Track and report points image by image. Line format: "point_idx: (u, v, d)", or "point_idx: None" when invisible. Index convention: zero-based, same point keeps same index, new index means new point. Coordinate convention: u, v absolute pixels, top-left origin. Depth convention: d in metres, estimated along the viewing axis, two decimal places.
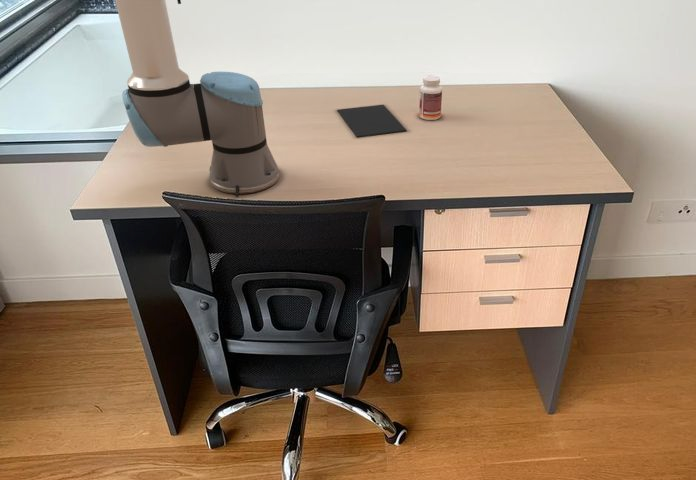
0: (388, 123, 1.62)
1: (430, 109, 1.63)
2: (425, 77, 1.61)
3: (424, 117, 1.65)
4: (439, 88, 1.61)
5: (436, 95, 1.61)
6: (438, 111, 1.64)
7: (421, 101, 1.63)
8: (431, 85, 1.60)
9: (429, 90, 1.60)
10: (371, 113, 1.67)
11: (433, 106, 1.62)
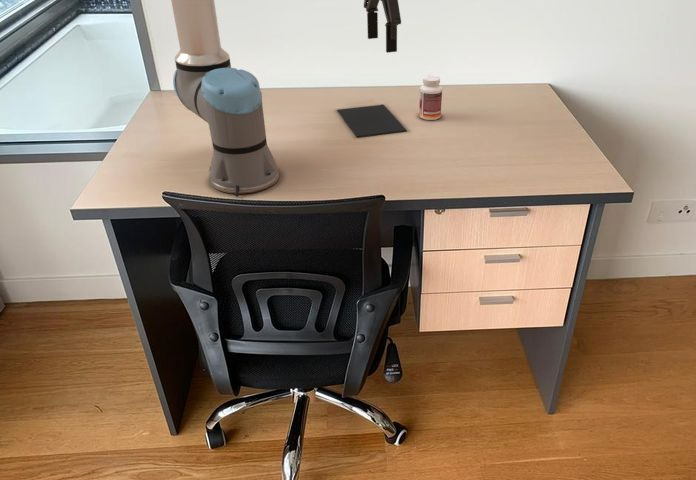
0: (388, 123, 1.62)
1: (430, 109, 1.63)
2: (425, 77, 1.61)
3: (424, 117, 1.65)
4: (439, 88, 1.61)
5: (436, 95, 1.61)
6: (438, 111, 1.64)
7: (421, 101, 1.63)
8: (431, 85, 1.60)
9: (429, 90, 1.60)
10: (371, 113, 1.67)
11: (433, 106, 1.62)
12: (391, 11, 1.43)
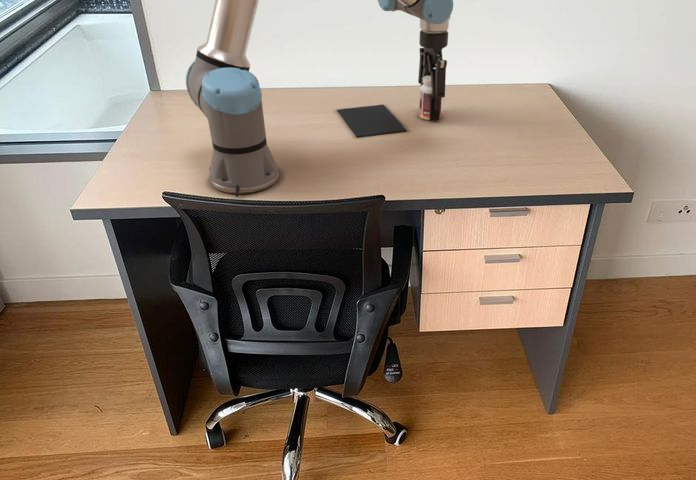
0: (388, 123, 1.62)
1: None
2: (425, 77, 1.61)
3: (424, 117, 1.65)
4: None
5: None
6: None
7: (421, 101, 1.63)
8: (431, 85, 1.60)
9: (429, 90, 1.60)
10: (371, 113, 1.67)
11: None
12: (437, 87, 1.56)
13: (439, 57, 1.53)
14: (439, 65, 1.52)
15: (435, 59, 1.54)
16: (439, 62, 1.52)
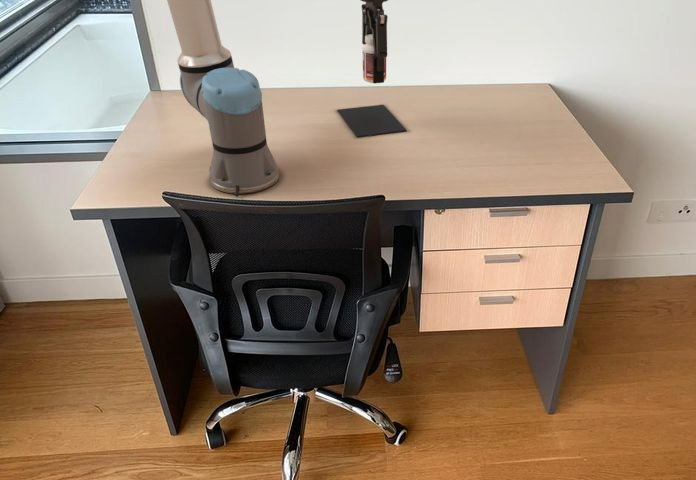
0: (388, 123, 1.62)
1: None
2: (367, 36, 1.49)
3: (368, 80, 1.53)
4: None
5: None
6: None
7: (364, 62, 1.51)
8: None
9: (372, 49, 1.48)
10: (371, 113, 1.67)
11: None
12: (378, 45, 1.44)
13: (379, 12, 1.42)
14: (379, 20, 1.41)
15: (375, 14, 1.42)
16: (379, 17, 1.40)
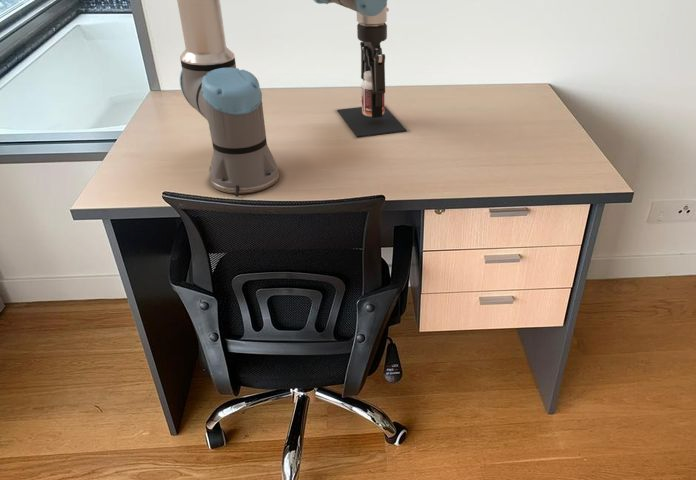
0: (388, 123, 1.62)
1: None
2: (366, 72, 1.55)
3: (367, 114, 1.58)
4: None
5: None
6: None
7: (363, 97, 1.57)
8: None
9: (370, 85, 1.54)
10: None
11: None
12: (377, 82, 1.49)
13: (377, 51, 1.47)
14: (377, 59, 1.46)
15: (373, 53, 1.48)
16: (377, 56, 1.45)
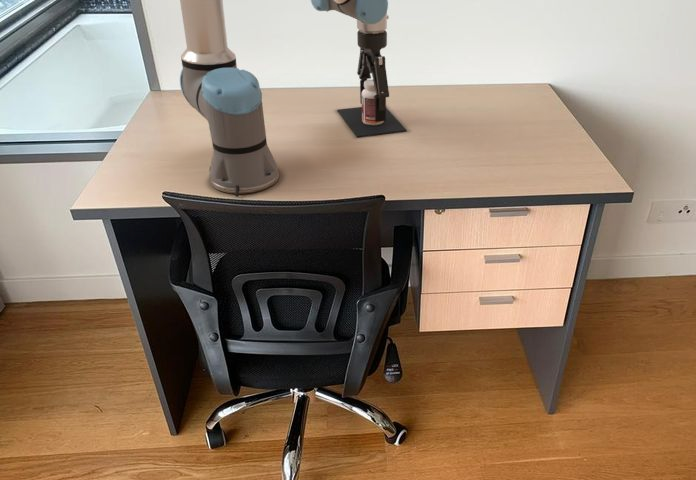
0: (388, 123, 1.62)
1: (372, 115, 1.58)
2: (366, 81, 1.56)
3: (367, 123, 1.60)
4: None
5: None
6: None
7: (363, 106, 1.58)
8: (372, 89, 1.55)
9: (370, 94, 1.55)
10: None
11: None
12: (379, 85, 1.47)
13: (377, 56, 1.48)
14: (377, 61, 1.46)
15: (373, 60, 1.49)
16: (376, 58, 1.46)
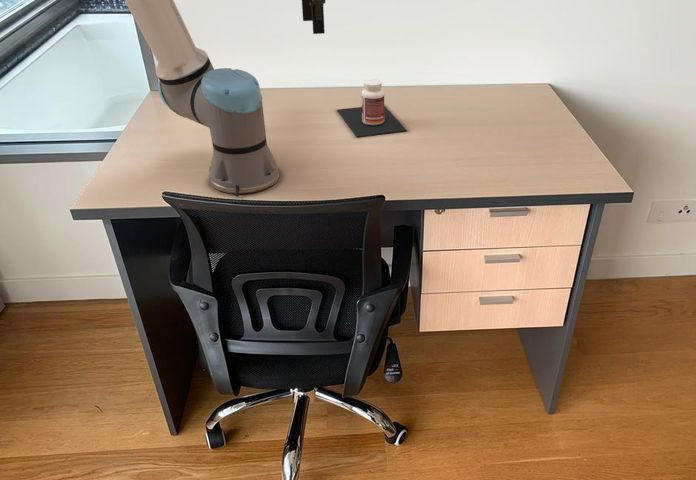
0: (388, 123, 1.62)
1: (372, 115, 1.58)
2: (366, 81, 1.56)
3: (367, 123, 1.60)
4: (380, 93, 1.56)
5: (377, 100, 1.56)
6: (381, 116, 1.59)
7: (363, 106, 1.58)
8: (372, 89, 1.55)
9: (370, 94, 1.55)
10: None
11: (375, 111, 1.57)
12: None
13: None
14: None
15: None
16: None
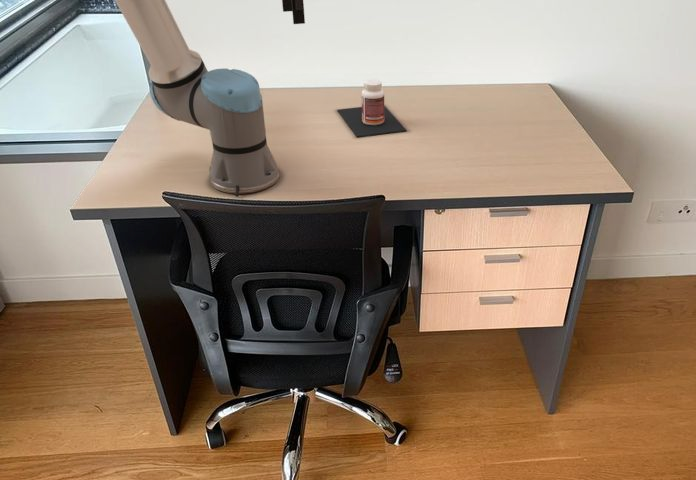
0: (388, 123, 1.62)
1: (372, 115, 1.58)
2: (366, 81, 1.56)
3: (367, 123, 1.60)
4: (380, 93, 1.56)
5: (377, 100, 1.56)
6: (381, 116, 1.59)
7: (363, 106, 1.58)
8: (372, 89, 1.55)
9: (370, 94, 1.55)
10: None
11: (375, 111, 1.57)
12: None
13: None
14: None
15: None
16: None
